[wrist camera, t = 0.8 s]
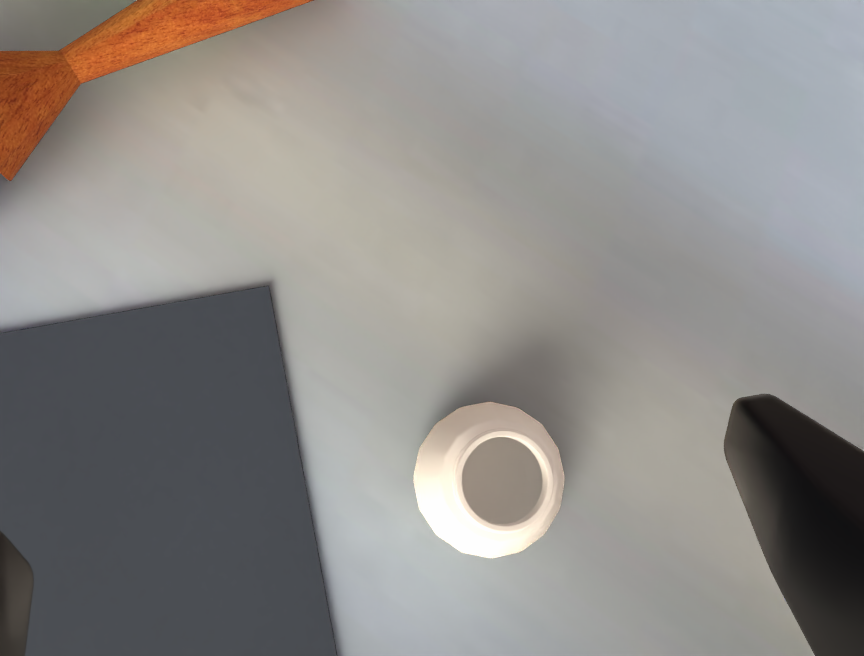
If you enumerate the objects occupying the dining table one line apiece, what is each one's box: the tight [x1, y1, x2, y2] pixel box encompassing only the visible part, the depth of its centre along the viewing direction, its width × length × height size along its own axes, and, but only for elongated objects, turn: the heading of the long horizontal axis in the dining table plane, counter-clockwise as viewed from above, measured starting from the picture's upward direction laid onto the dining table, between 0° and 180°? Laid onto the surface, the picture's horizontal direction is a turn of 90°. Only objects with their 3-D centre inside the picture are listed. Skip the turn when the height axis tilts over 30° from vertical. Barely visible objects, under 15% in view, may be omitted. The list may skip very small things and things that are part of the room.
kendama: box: [0, 0, 313, 181], centre depth 22 cm, size 6×6×20 cm
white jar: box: [413, 402, 565, 558], centre depth 23 cm, size 5×3×5 cm
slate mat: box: [0, 286, 337, 656], centre depth 22 cm, size 16×12×1 cm
